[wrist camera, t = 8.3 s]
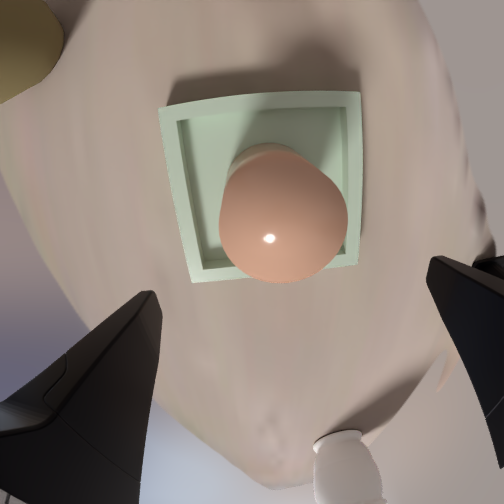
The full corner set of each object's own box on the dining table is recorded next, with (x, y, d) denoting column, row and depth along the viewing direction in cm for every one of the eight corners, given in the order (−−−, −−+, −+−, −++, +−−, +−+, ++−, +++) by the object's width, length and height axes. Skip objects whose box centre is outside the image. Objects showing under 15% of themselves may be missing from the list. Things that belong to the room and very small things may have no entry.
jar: (333, 423, 35) (353, 512, 22) (378, 426, 38) (401, 499, 25) (294, 450, 39) (304, 526, 26) (339, 452, 42) (353, 518, 29)
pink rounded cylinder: (309, 139, 17) (348, 158, 11) (312, 220, 20) (344, 275, 13) (220, 147, 17) (209, 170, 11) (231, 229, 20) (228, 289, 13)
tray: (349, 92, 16) (360, 91, 14) (349, 252, 22) (357, 264, 20) (165, 108, 16) (157, 108, 14) (195, 269, 22) (191, 283, 20)
